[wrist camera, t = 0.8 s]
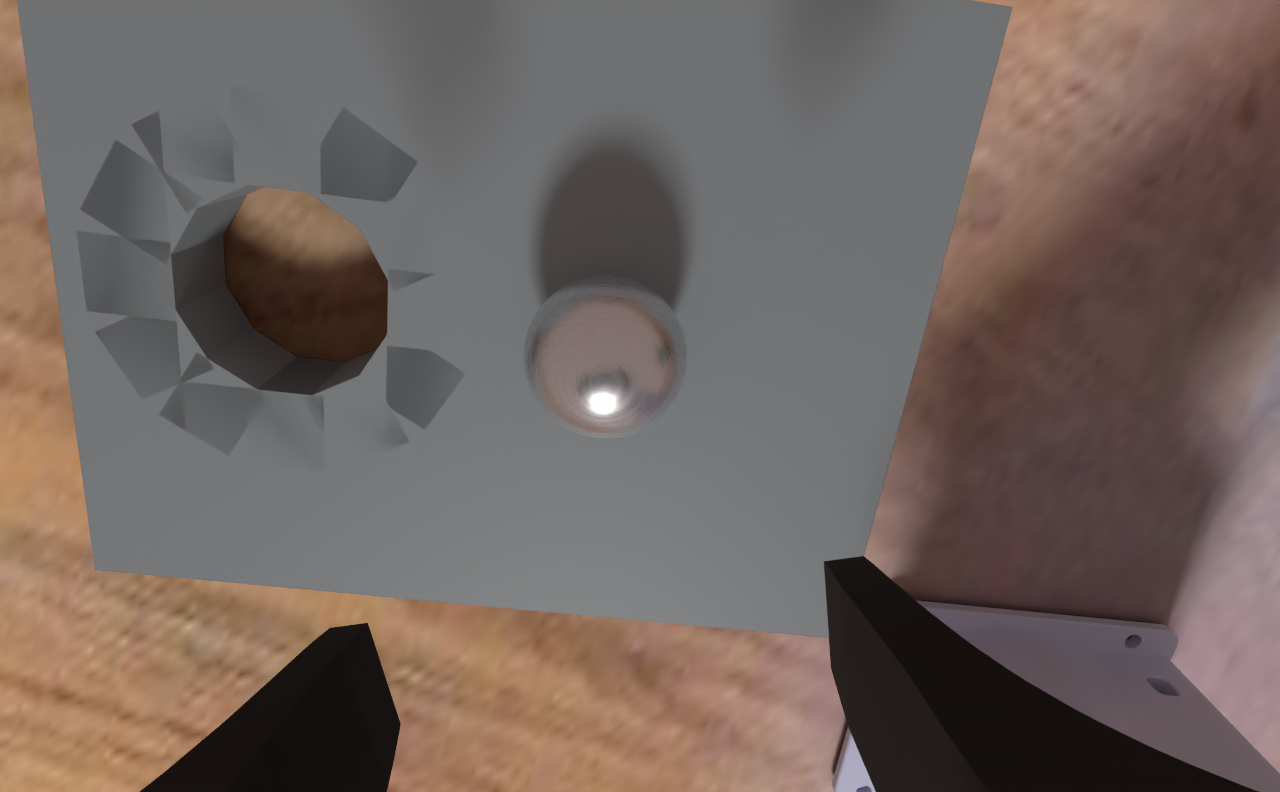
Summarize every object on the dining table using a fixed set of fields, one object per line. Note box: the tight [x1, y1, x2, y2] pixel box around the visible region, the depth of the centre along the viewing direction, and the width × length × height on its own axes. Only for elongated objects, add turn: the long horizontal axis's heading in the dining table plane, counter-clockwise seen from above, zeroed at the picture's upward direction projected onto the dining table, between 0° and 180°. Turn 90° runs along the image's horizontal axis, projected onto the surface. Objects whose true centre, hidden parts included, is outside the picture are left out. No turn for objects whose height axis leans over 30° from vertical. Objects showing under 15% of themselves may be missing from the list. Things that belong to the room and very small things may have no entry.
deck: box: [17, 0, 1012, 638], centre depth 20 cm, size 20×16×2 cm
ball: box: [524, 275, 687, 439], centre depth 17 cm, size 4×4×4 cm
